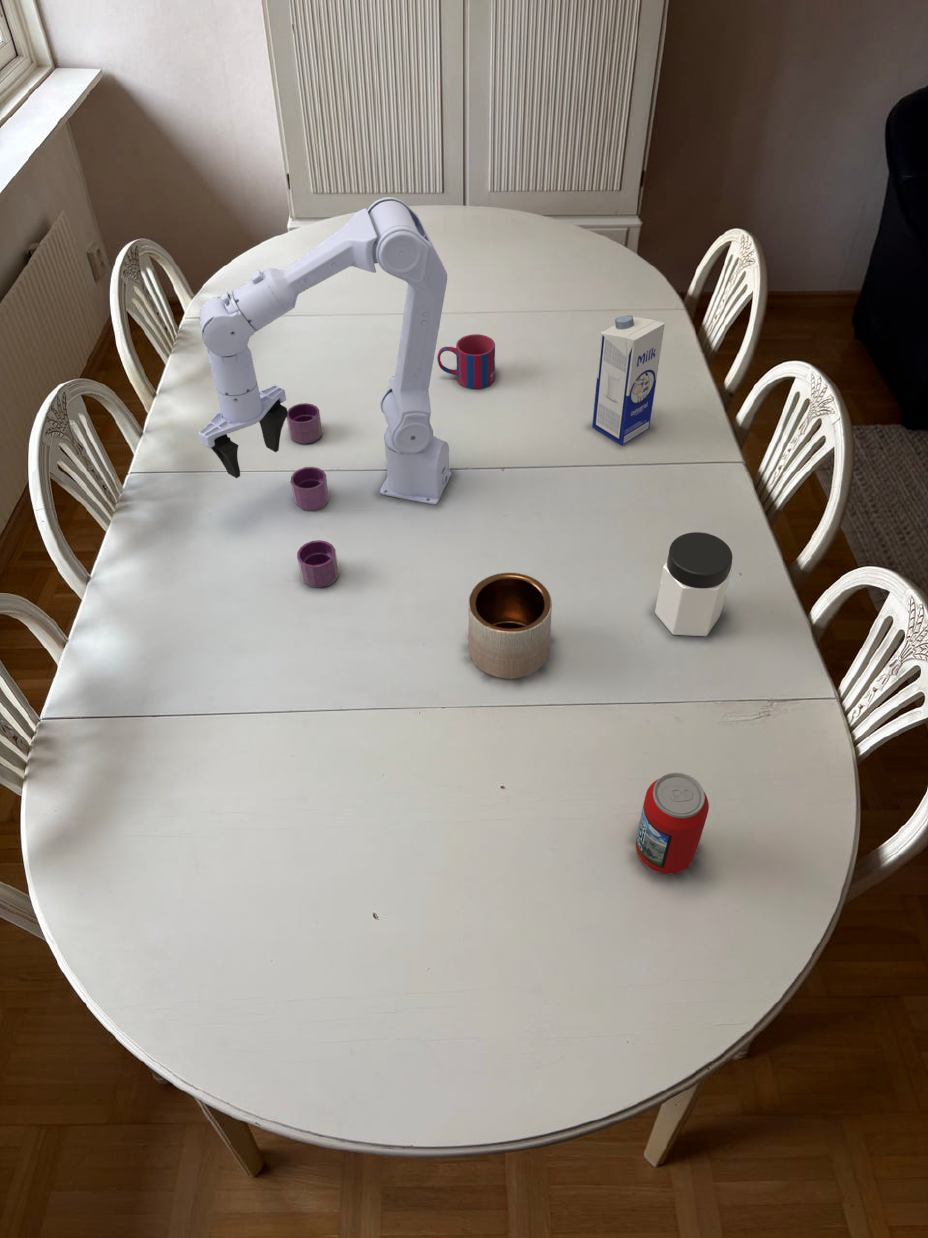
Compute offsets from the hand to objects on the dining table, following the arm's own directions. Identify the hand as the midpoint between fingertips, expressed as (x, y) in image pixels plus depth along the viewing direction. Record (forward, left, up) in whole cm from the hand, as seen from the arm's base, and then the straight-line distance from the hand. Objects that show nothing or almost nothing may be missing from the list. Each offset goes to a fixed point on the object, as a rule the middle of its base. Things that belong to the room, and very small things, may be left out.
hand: (253, 461), depth 148 cm
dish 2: (-6, -4, -9) cm, 12 cm away
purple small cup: (-14, +11, -9) cm, 20 cm away
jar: (-66, +4, -10) cm, 67 cm away
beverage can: (-69, +41, -10) cm, 81 cm away
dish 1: (+1, -19, -9) cm, 21 cm away
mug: (-20, -42, -10) cm, 48 cm away
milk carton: (-49, -35, -10) cm, 61 cm away
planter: (-44, +17, -10) cm, 48 cm away
